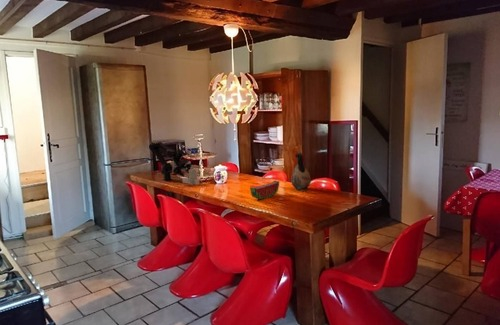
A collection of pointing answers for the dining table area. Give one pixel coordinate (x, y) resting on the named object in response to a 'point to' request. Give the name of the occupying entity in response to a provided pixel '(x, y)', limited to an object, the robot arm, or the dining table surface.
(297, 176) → the ceramic jug
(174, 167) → the stack of blocks
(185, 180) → the white rectangular bar
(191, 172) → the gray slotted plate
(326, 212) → the dining table surface
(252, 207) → the dining table surface
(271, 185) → the fruit slice
